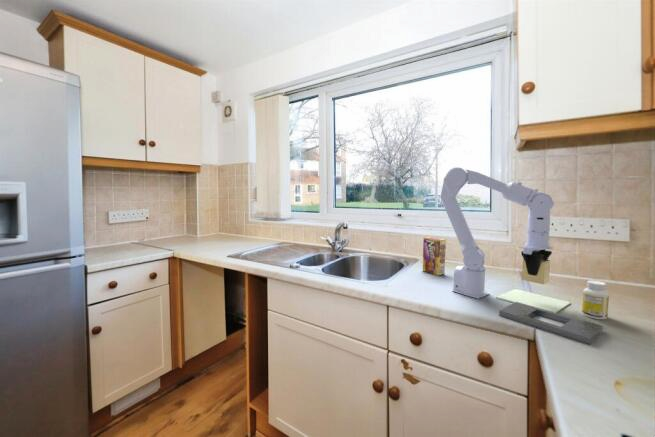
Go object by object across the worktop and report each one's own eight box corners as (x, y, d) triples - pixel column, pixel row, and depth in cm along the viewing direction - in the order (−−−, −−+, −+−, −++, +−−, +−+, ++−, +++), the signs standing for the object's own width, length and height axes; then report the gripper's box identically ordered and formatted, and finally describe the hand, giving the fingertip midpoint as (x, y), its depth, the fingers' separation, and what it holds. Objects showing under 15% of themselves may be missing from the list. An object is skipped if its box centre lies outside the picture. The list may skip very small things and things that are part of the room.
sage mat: (496, 298, 98) (496, 296, 98) (515, 289, 106) (515, 288, 106) (554, 314, 85) (554, 313, 85) (570, 303, 93) (570, 302, 93)
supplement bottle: (594, 311, 86) (597, 279, 85) (612, 319, 81) (615, 285, 80) (576, 312, 86) (579, 279, 85) (593, 320, 81) (596, 285, 80)
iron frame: (499, 315, 84) (499, 310, 84) (516, 306, 91) (516, 301, 90) (589, 344, 68) (590, 338, 68) (602, 331, 74) (603, 325, 74)
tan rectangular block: (521, 279, 94) (523, 258, 94) (527, 277, 97) (528, 256, 96) (543, 284, 90) (545, 261, 89) (548, 282, 92) (550, 260, 91)
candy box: (445, 274, 126) (446, 239, 125) (438, 275, 124) (440, 240, 122) (428, 269, 133) (429, 236, 132) (422, 271, 131) (422, 237, 130)
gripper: (543, 234, 84) (540, 280, 86) (561, 230, 93) (558, 272, 94) (516, 232, 90) (514, 275, 91) (536, 228, 98) (533, 268, 100)
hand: (535, 273), depth 93 cm, fingers closed on tan rectangular block, 4 cm apart
